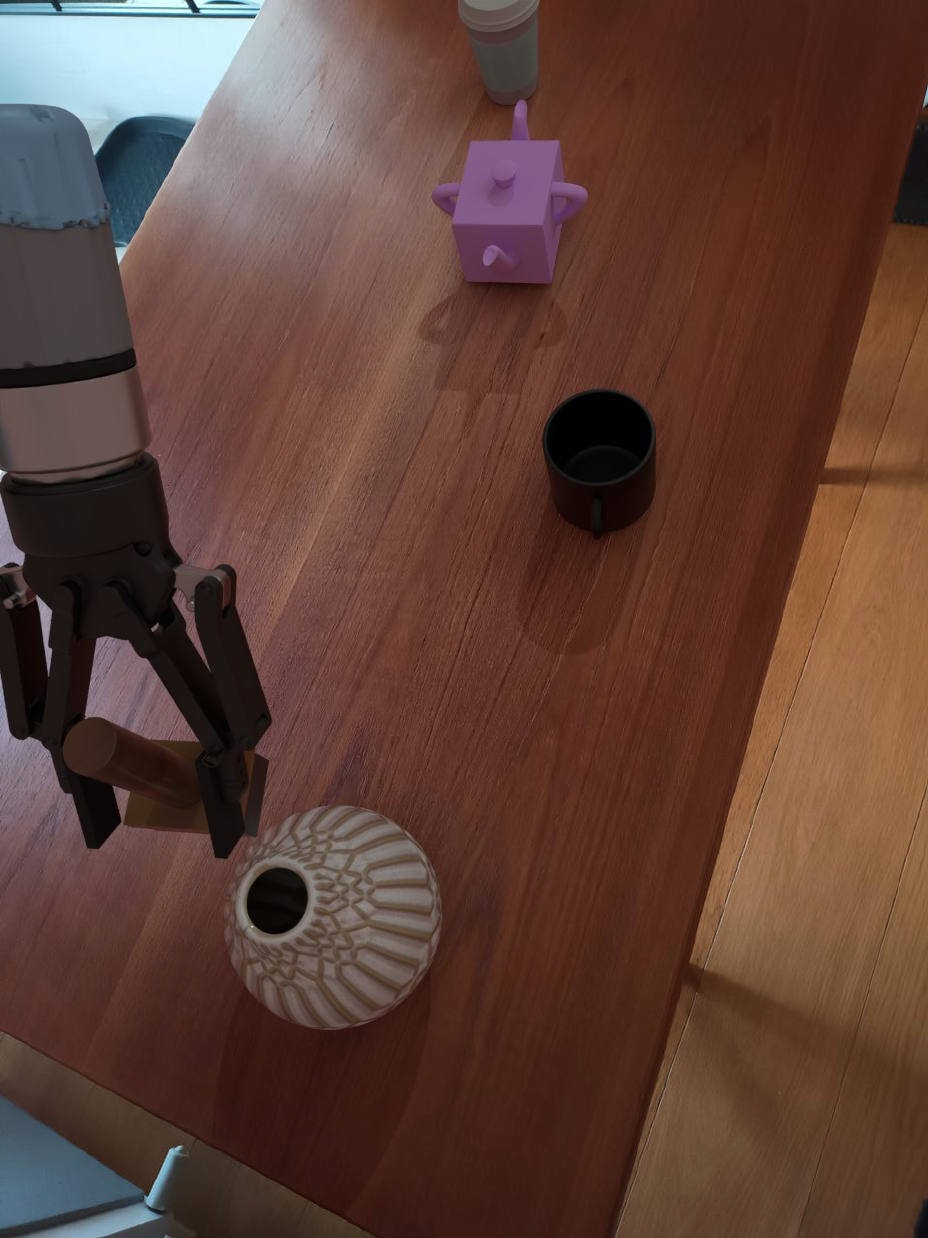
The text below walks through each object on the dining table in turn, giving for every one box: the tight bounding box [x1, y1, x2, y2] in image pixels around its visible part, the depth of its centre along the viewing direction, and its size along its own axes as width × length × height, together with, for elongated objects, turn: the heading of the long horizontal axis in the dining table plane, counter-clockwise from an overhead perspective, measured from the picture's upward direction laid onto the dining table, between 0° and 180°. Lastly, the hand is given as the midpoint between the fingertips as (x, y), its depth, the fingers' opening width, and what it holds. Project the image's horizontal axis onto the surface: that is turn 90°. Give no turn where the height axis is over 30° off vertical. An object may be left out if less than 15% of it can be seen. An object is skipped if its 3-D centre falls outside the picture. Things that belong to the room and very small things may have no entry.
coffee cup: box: [457, 0, 541, 106], centre depth 102 cm, size 8×8×12 cm
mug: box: [541, 388, 657, 541], centre depth 83 cm, size 9×12×9 cm
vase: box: [222, 804, 444, 1031], centre depth 69 cm, size 16×16×20 cm
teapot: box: [431, 100, 589, 285], centre depth 94 cm, size 15×13×11 cm
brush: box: [63, 716, 270, 838], centre depth 55 cm, size 7×5×14 cm
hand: (166, 838), depth 56 cm, fingers closed on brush, 7 cm apart
